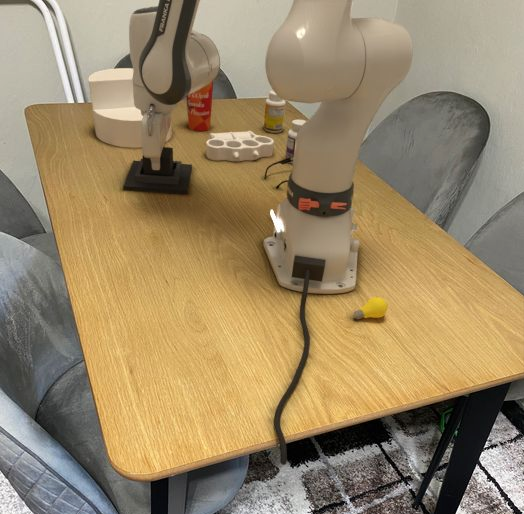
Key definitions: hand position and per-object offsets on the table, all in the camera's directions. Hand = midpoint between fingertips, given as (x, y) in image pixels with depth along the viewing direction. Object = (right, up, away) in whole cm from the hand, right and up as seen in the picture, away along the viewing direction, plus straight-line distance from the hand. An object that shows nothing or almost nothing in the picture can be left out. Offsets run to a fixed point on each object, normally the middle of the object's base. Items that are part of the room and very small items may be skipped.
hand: (158, 162), depth 118 cm
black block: (0, -1, +1) cm, 2 cm away
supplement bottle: (+27, +21, +32) cm, 46 cm away
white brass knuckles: (+17, +9, +18) cm, 26 cm away
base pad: (0, -3, +2) cm, 4 cm away
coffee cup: (+6, +20, +29) cm, 36 cm away
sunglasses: (+30, -2, +8) cm, 32 cm away
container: (-11, +15, +22) cm, 29 cm away
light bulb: (+42, -37, -30) cm, 63 cm away
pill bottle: (+32, +6, +17) cm, 37 cm away
